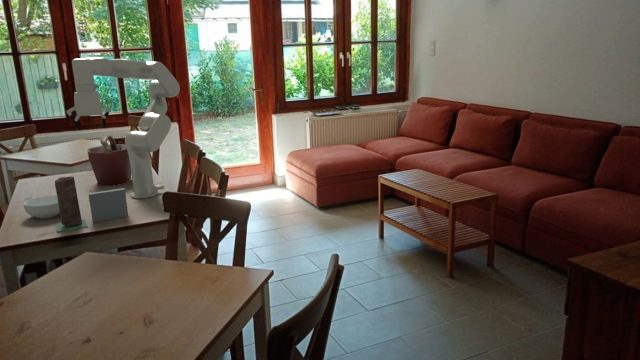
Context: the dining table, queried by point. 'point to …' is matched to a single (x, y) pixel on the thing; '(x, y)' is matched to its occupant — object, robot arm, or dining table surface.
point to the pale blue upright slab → (108, 204)
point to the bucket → (110, 162)
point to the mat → (65, 228)
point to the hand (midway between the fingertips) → (91, 128)
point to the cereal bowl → (42, 206)
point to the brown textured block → (68, 201)
